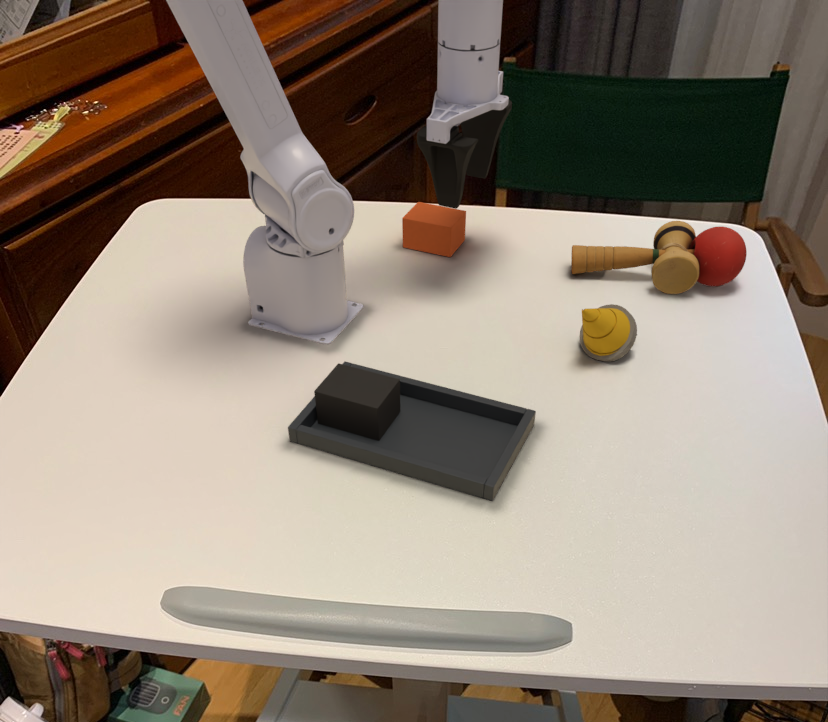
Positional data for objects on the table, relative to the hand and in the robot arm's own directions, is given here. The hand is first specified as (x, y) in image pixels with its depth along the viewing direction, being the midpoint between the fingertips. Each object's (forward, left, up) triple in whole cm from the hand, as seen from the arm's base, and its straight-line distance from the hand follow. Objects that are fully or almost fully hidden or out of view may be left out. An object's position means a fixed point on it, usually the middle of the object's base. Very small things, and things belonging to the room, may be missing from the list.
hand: (463, 190), depth 85 cm
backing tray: (+7, -29, -9) cm, 31 cm away
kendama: (+20, +6, -9) cm, 23 cm away
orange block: (-5, +4, -9) cm, 11 cm away
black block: (+2, -29, -8) cm, 30 cm away
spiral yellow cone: (+19, -11, -9) cm, 24 cm away
